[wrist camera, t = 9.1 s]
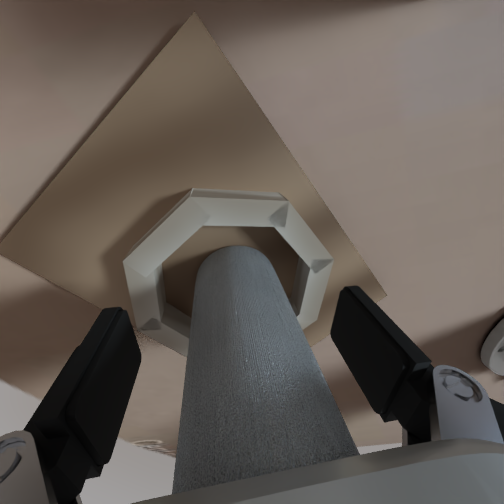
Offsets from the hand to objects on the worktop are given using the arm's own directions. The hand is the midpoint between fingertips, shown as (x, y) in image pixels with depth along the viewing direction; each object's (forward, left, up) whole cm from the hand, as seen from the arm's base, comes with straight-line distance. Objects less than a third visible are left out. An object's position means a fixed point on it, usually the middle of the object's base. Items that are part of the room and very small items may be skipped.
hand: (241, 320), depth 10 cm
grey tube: (0, 0, -4) cm, 4 cm away
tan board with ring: (0, 0, -4) cm, 4 cm away
